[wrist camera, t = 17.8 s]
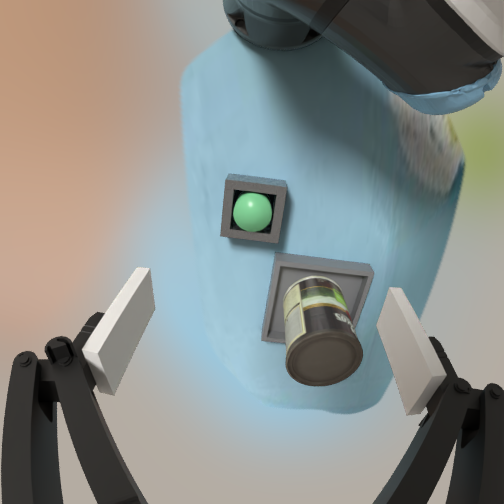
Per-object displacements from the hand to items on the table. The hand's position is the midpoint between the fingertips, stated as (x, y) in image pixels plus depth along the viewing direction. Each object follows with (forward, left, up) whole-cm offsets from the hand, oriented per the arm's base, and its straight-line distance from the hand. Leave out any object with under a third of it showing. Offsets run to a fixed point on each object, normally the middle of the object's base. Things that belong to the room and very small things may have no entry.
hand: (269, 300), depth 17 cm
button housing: (+4, -1, -30) cm, 30 cm away
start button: (+4, -1, -29) cm, 29 cm away
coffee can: (+19, +10, -29) cm, 36 cm away
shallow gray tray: (+19, +11, -30) cm, 37 cm away
